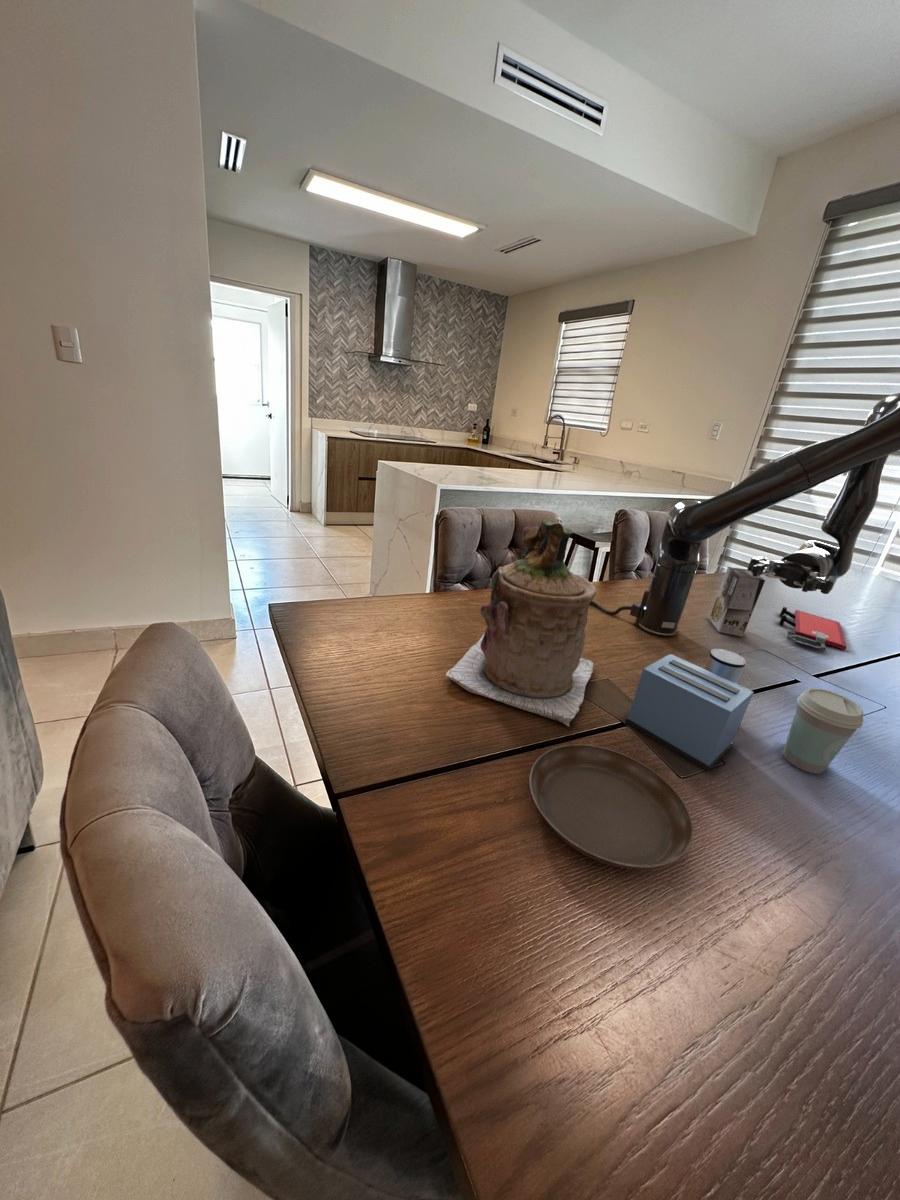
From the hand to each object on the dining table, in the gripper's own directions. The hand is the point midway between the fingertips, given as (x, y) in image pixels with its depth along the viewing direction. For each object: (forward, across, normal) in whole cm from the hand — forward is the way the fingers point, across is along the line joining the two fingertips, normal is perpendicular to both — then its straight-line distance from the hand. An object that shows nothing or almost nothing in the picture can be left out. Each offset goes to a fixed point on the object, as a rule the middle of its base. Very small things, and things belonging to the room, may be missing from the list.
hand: (780, 578), depth 90 cm
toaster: (+28, 0, +25) cm, 37 cm away
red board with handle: (-54, +1, +24) cm, 60 cm away
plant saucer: (+54, +2, +25) cm, 60 cm away
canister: (+15, 0, +25) cm, 29 cm away
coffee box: (-32, -14, +25) cm, 43 cm away
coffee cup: (+15, +16, +25) cm, 33 cm away
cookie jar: (+38, -27, +25) cm, 52 cm away
